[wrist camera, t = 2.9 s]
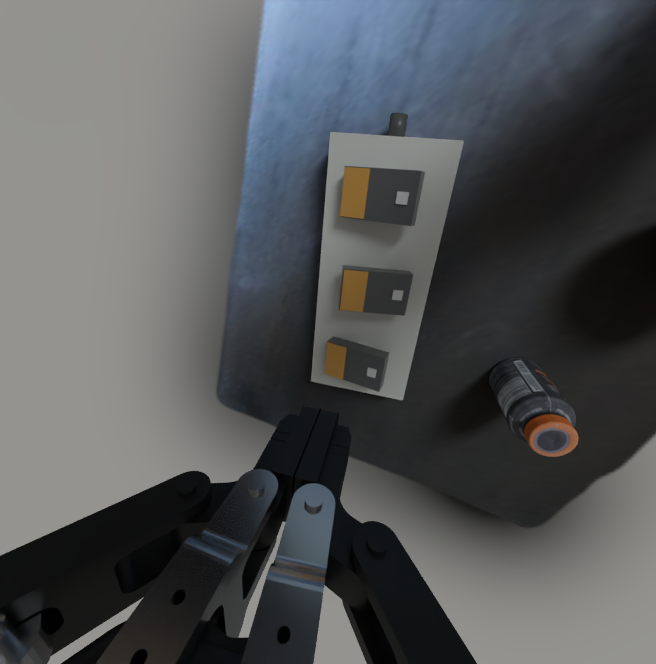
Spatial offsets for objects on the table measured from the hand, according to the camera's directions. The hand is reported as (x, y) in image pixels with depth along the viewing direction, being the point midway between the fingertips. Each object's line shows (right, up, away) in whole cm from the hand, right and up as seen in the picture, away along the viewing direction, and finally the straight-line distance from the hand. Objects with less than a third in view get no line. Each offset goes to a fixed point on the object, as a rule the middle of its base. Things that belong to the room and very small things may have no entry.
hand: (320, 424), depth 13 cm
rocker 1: (+6, +17, +17) cm, 25 cm away
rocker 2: (+5, +9, +20) cm, 22 cm away
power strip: (+6, +11, +24) cm, 27 cm away
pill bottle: (+24, -2, +25) cm, 35 cm away
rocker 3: (+4, +1, +24) cm, 25 cm away
